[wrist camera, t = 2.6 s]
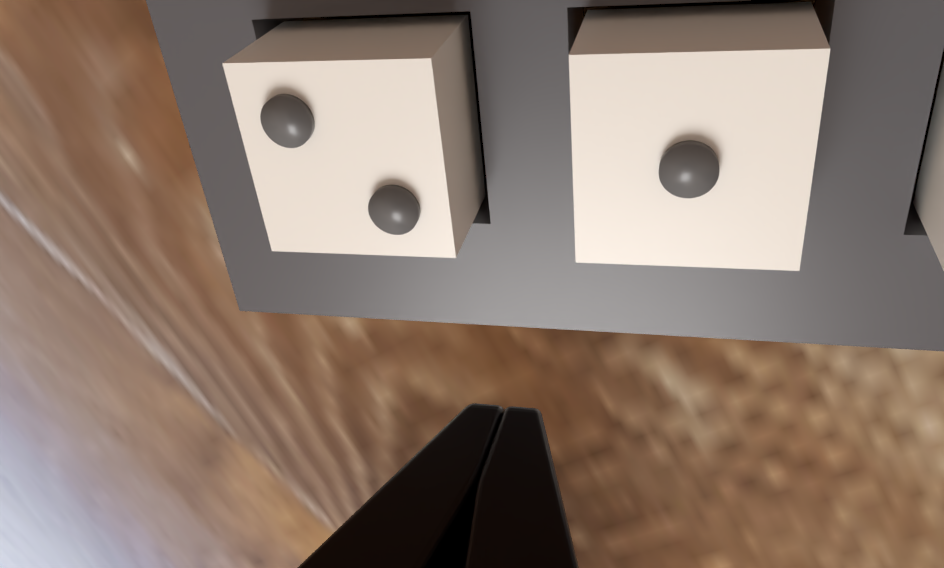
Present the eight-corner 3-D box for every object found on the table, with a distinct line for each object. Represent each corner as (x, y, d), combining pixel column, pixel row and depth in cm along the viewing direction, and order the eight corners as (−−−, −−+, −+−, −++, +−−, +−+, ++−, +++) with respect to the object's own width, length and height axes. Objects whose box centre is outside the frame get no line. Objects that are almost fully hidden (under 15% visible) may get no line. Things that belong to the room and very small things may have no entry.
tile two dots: (467, 14, 18) (428, 61, 15) (485, 195, 20) (453, 263, 18) (283, 21, 19) (218, 66, 16) (320, 192, 21) (268, 255, 19)
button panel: (1471, -257, 13) (1609, -255, 11) (1209, 303, 19) (1268, 369, 17) (171, -137, 19) (108, -122, 17) (276, 264, 25) (239, 310, 23)
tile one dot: (811, 1, 16) (832, 52, 14) (786, 200, 18) (800, 276, 16) (587, 10, 17) (567, 58, 15) (591, 197, 20) (574, 267, 17)
